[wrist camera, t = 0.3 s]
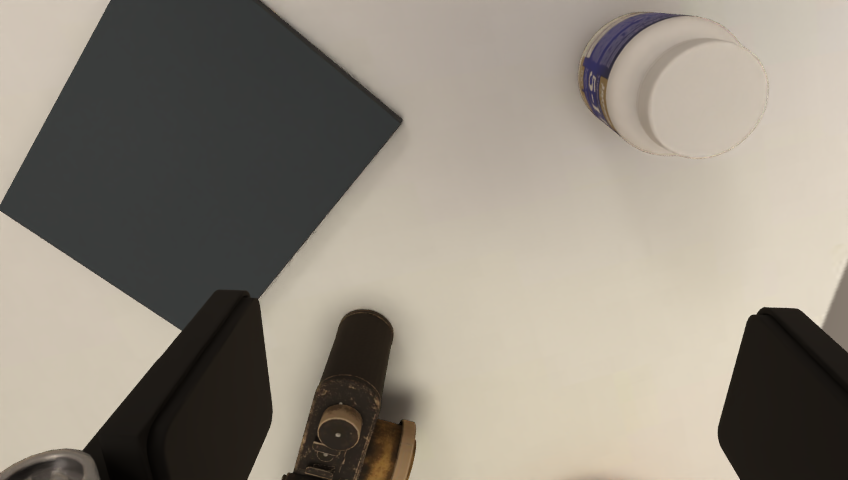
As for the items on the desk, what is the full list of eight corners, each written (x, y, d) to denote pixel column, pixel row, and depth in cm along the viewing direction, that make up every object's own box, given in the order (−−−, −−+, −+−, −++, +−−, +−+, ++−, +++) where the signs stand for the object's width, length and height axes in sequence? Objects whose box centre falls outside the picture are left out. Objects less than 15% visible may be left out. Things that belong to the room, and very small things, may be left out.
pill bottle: (553, 72, 27) (595, 102, 19) (640, -14, 26) (727, -20, 18) (623, 147, 29) (690, 205, 20) (710, 70, 27) (822, 100, 19)
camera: (376, 519, 40) (358, 636, 32) (284, 496, 39) (246, 609, 32) (446, 330, 33) (443, 423, 26) (337, 300, 33) (304, 385, 26)
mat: (165, -80, 26) (154, -82, 25) (403, 119, 29) (401, 123, 28) (10, 203, 32) (-3, 209, 31) (220, 343, 35) (214, 352, 34)
